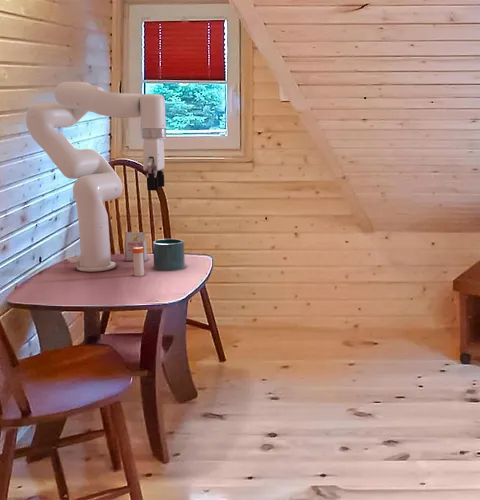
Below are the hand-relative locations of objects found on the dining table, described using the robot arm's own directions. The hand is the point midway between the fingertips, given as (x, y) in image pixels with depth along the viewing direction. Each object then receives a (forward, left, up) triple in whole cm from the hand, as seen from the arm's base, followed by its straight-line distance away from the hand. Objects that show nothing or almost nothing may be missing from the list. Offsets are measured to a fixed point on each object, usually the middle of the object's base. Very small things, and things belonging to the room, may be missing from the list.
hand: (156, 188), depth 244 cm
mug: (+3, +13, -28) cm, 32 cm away
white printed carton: (-8, +26, -29) cm, 40 cm away
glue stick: (-7, +2, -28) cm, 29 cm away
